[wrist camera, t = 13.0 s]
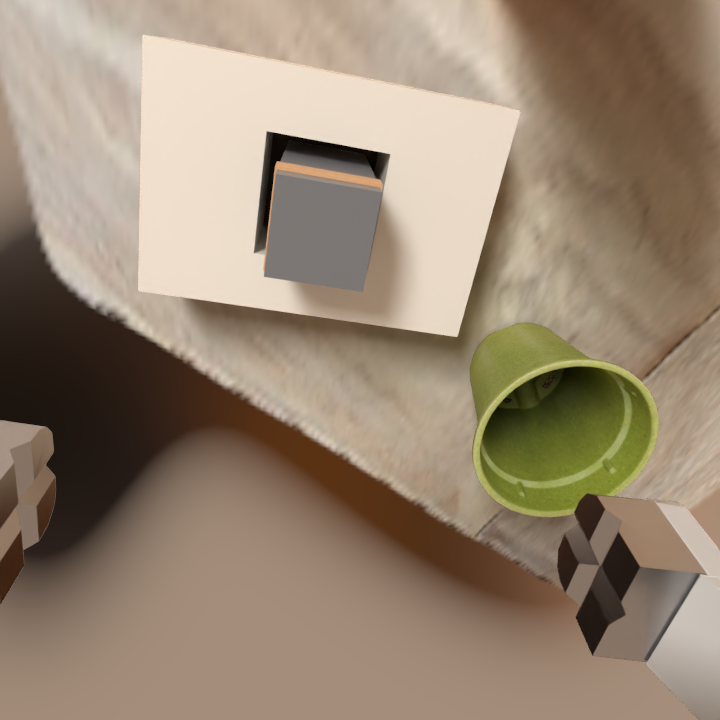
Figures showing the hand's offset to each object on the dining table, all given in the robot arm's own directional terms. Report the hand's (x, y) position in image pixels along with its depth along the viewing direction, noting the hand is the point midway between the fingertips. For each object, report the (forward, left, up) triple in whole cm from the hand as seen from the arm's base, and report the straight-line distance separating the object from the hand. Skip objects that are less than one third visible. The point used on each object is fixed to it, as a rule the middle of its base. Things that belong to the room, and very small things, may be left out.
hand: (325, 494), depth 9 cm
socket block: (0, 0, -25) cm, 25 cm away
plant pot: (-14, +9, -26) cm, 30 cm away
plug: (0, 0, -25) cm, 25 cm away
